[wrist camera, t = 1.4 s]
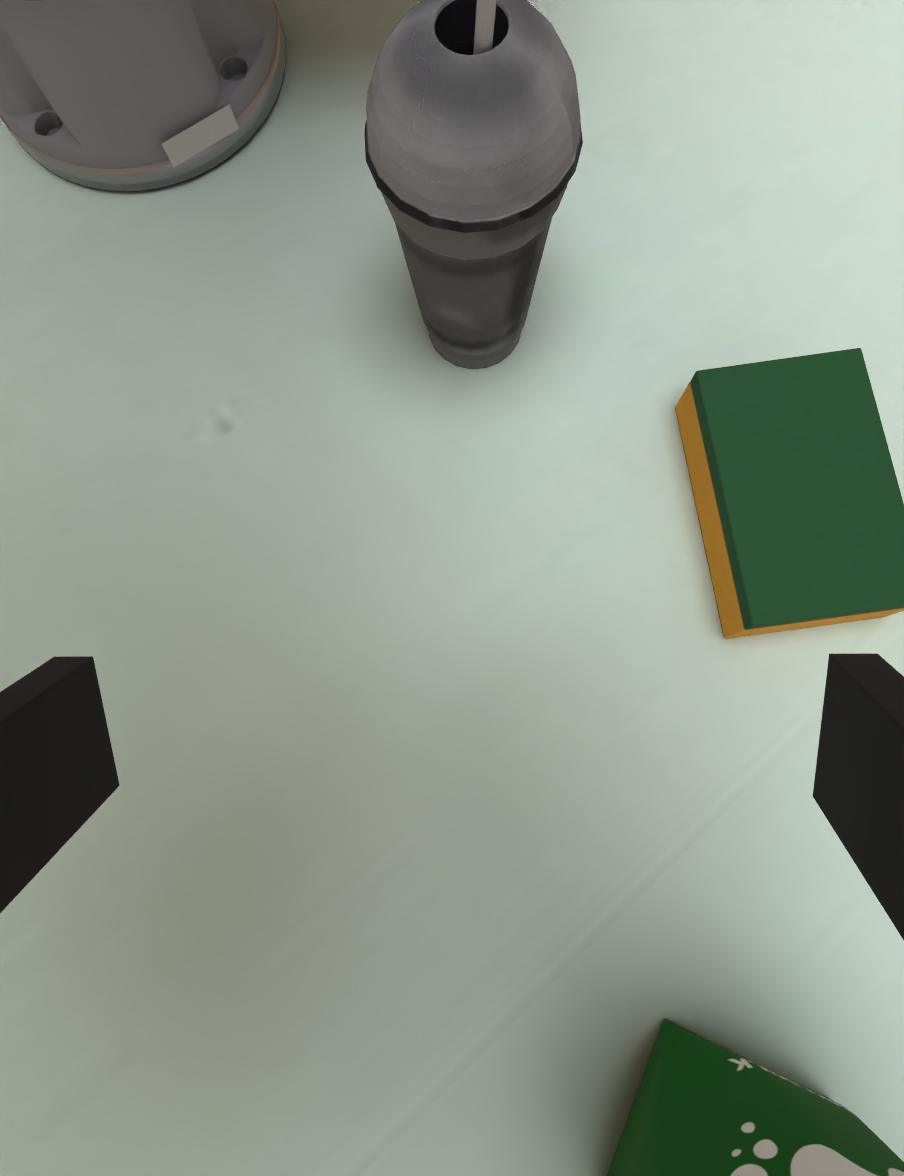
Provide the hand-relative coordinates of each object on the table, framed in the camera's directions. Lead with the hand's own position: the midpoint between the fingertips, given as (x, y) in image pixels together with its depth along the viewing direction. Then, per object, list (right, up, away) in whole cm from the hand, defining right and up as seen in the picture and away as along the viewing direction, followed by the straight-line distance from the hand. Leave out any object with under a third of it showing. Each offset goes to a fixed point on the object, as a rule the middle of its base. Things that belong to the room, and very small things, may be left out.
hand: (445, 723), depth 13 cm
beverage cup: (+1, +15, +23) cm, 27 cm away
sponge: (+15, +6, +20) cm, 26 cm away
